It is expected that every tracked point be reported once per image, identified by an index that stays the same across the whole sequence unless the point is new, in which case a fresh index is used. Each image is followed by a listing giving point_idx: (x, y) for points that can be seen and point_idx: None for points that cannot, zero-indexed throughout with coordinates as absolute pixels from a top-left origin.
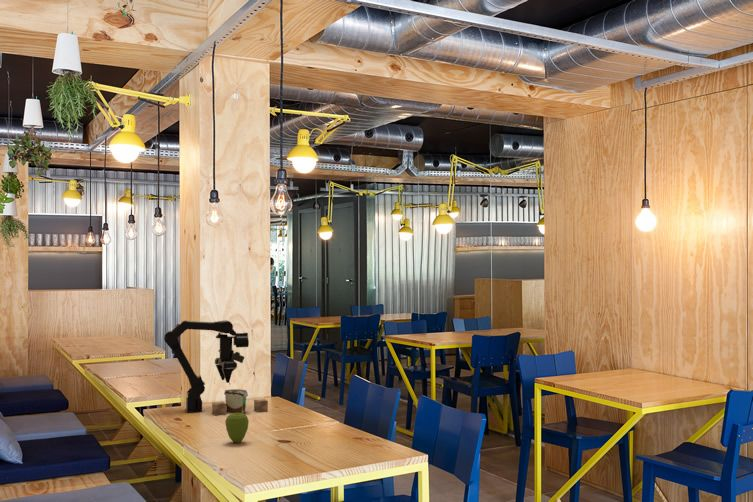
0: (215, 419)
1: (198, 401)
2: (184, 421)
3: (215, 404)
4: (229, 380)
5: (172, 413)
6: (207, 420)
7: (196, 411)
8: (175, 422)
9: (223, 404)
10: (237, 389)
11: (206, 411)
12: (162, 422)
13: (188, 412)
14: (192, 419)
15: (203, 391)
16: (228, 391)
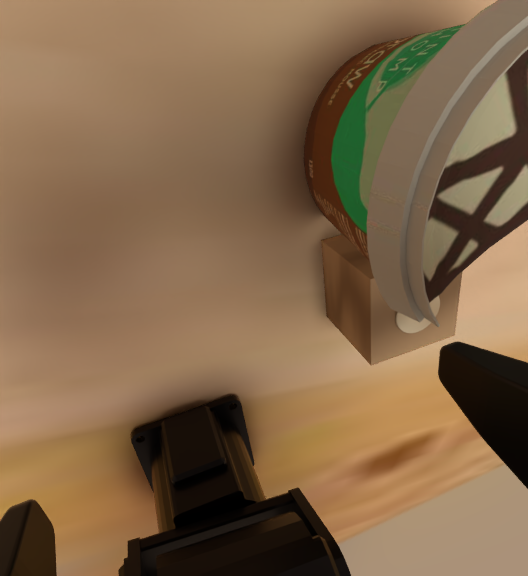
0: (501, 277)
1: (245, 475)
2: (462, 417)
3: (452, 330)
4: (505, 357)
5: None
6: (500, 317)
7: (245, 424)
8: (461, 446)
9: None
10: (452, 147)
11: (228, 365)
12: (434, 491)
13: (253, 459)
14: (438, 394)
15: (300, 523)
16: (428, 276)
